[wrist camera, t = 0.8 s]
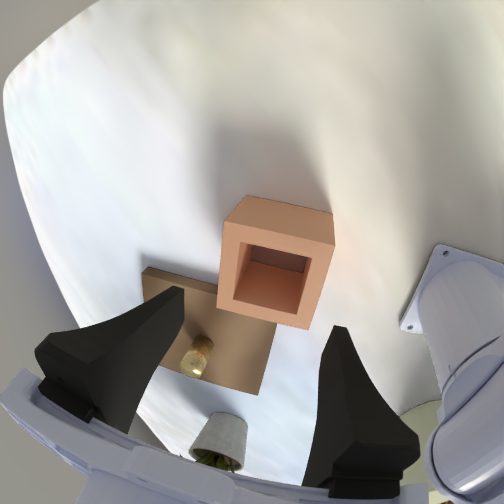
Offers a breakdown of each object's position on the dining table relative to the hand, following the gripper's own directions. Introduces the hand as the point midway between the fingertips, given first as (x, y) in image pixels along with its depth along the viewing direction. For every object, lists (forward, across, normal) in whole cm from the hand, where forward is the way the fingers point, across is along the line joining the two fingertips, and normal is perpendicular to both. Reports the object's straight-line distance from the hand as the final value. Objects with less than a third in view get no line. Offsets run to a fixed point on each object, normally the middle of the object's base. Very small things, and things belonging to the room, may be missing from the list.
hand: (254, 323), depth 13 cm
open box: (+9, 0, 0) cm, 9 cm away
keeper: (+9, +5, +11) cm, 15 cm away
